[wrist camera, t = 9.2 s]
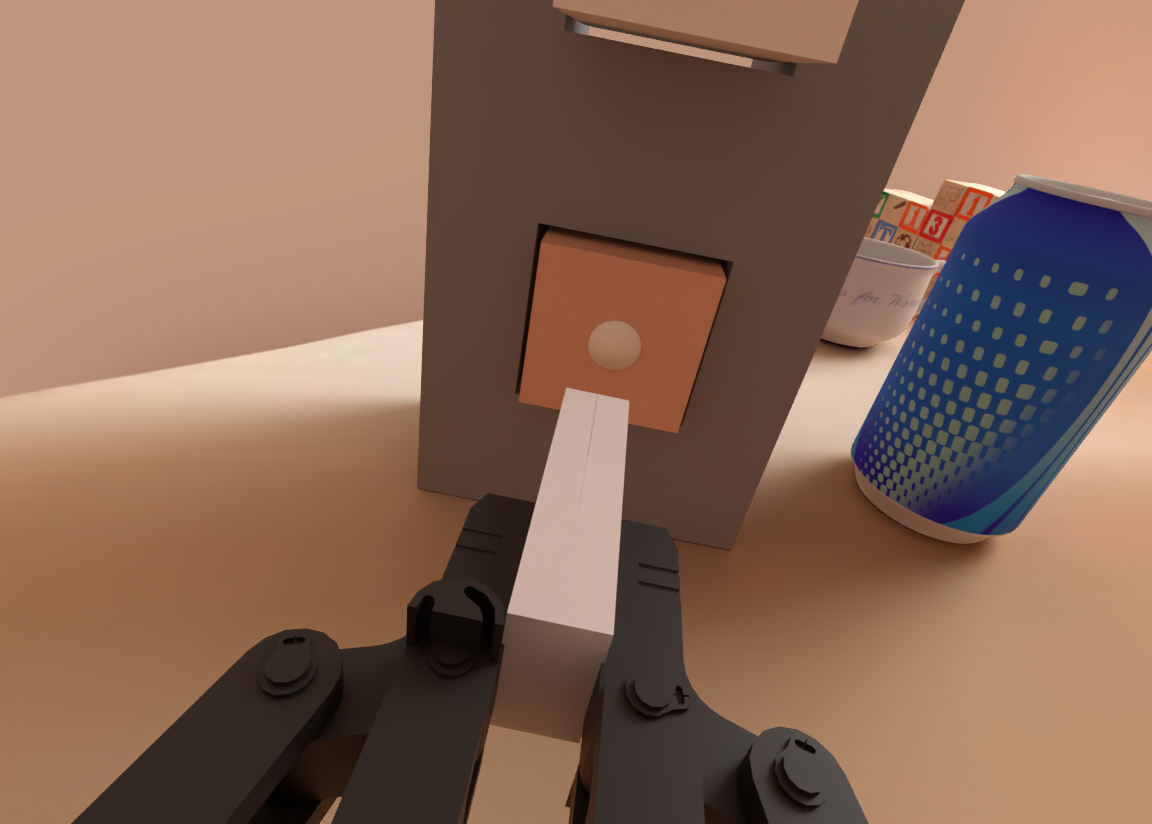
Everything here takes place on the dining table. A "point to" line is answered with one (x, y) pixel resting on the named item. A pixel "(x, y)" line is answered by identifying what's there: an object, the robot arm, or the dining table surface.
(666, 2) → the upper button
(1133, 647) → the dining table surface
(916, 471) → the beer can
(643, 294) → the lower button
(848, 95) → the button post
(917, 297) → the teacup
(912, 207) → the stack of blocks
